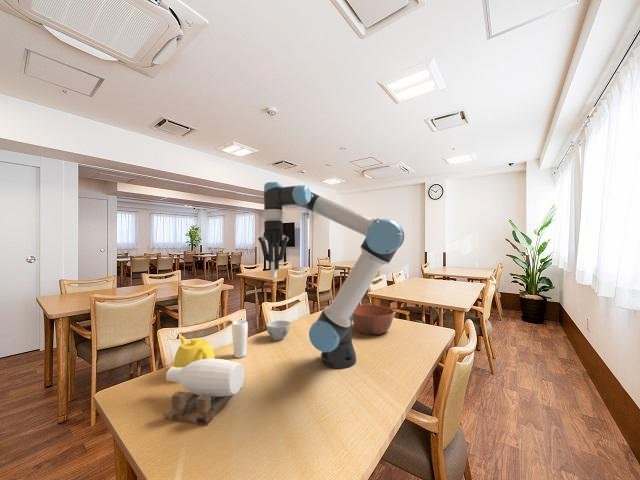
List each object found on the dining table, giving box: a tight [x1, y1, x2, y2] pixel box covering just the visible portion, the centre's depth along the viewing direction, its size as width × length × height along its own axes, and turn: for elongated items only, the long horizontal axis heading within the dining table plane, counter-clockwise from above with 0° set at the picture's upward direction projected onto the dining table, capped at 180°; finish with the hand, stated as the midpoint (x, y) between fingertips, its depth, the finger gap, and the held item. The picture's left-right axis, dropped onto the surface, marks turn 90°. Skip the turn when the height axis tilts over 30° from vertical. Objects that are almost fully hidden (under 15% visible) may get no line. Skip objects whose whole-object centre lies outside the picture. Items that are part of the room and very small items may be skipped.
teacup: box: [265, 320, 291, 341], centre depth 143 cm, size 15×12×8 cm
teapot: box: [173, 335, 216, 368], centre depth 108 cm, size 14×20×13 cm
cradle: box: [164, 386, 243, 426], centre depth 87 cm, size 14×19×7 cm
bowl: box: [352, 304, 395, 336], centre depth 154 cm, size 25×25×11 cm
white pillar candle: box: [231, 319, 249, 359], centre depth 121 cm, size 7×7×15 cm
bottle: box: [165, 358, 245, 398], centre depth 89 cm, size 11×11×25 cm
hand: (274, 277), depth 112 cm, fingers closed
